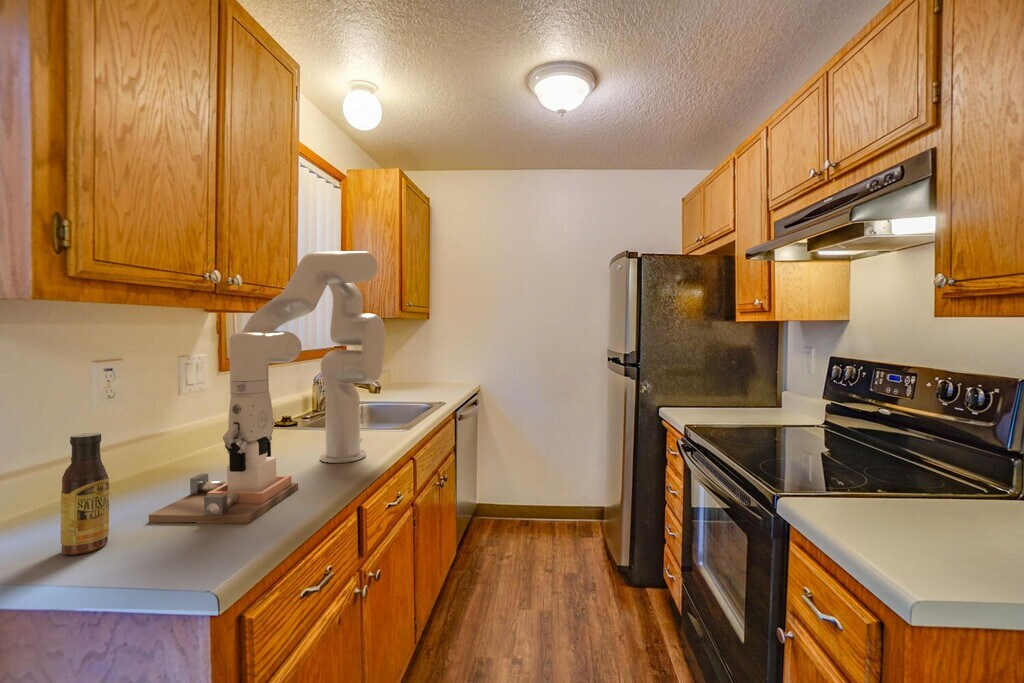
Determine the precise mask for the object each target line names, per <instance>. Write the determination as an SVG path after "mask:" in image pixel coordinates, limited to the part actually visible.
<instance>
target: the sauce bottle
mask: <svg viewBox="0 0 1024 683" xmlns="http://www.w3.org/2000/svg"><path fill="white" fill-rule="evenodd" d="M69 439H70V440H69V444H70V445H71V457H70V460H71V463H70V464H69V465H68V467H67V468H66V470H65V471H64V473H63V475H62V479H61V492H60V496H61V497H60V545H61V553H62V554H63V555H66V556H77V555H82V554H87V553H91V552H94V551H96V550H100V549H101V548H102V547H104V546H105V545H107V544H108V541H109V537H108V536H109V534H110V478H109V476H108V473H107V471H106V467H105V465H104V464H103V462H102V458H101V457H102V456H101V442H102V433H101V432H85V433H76V434H72V435H70V438H69Z"/></svg>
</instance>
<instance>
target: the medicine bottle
mask: <svg viewBox="0 0 1024 683" xmlns="http://www.w3.org/2000/svg"><path fill="white" fill-rule="evenodd" d="M236 444H237V445H238V446H240V443H236ZM243 452H245V456H246V470H245V471H244V472H231V471H230V464H227V466H226V468H227V469H226V473H227V474H226V476H227V478H226V480H227V481H226V482H227V484H228V491H236V492H261V491H263V490H265V489H266V488H268V487H270V486H271V485H273V484H274V483H276V475H277V457H275V456H271V457H266V456H267V440H266V439H264V438H261V439H259V440H256V441H254V442H248V441H247V443H246V446H245V448H244V451H243Z"/></svg>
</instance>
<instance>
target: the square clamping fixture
mask: <svg viewBox="0 0 1024 683" xmlns="http://www.w3.org/2000/svg"><path fill="white" fill-rule="evenodd" d="M292 480H293V479H292V475H277V474H276V483H274V484H273V485H271V486H270V487H268V488H266V489H265V490H263V491H261V492H236V491H228V484H227V481H225V480H223V481H221V480H218V481H215V480H214V481H213V480H209V473H199V474H197V475H195V476H192V477H191V478H189V488H190V490H189V491H190V492H189V493H190V494H188V495H186V496H184V497H182V498H180V499H179V500H176V501H173V502H172V503H169V504H168V505H166V506H164V507H162V508H160V509H157V510H155V511H154V512H152V513H149V514H148V523H156V522H201V523H200V524H224V523H230V524H234V523H236V525H237V524H239V525H240V524H241V525H248V524H250V523H251V522H253V521H254V520H255V518H256V519H257V518H258V517H260V516H262V515H263V514H265V513H266V512H267V511H269V510H270V509H272V508H273V507H274V506H276V505H278V504H279V503H280V502H281V500H282V501H283V500H285V499H286V498H287V497H289V496H290V495H292V494H293V493H294V491H295V490H296V491H297V490H298V489H299V483H298V482H292ZM296 491H295V492H296ZM291 493H292V494H291ZM288 495H289V496H288ZM285 497H286V498H285ZM279 501H280V502H279ZM278 502H279V503H278ZM275 504H276V505H275ZM272 506H273V507H272ZM269 508H270V509H269ZM268 509H269V510H268ZM266 510H267V511H266ZM265 511H266V512H265ZM262 513H263V514H262ZM259 515H260V516H259ZM252 520H253V521H252ZM234 525H235V524H234Z"/></svg>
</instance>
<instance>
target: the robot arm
mask: <svg viewBox="0 0 1024 683" xmlns="http://www.w3.org/2000/svg"><path fill="white" fill-rule="evenodd" d="M377 261H378V260H377V259H376V257H375V256H374V254H373V253H371V252H369V251H367V250H366V251H363V250H361V251H343V250H342V251H341V250H340V251H338V250H336V251H335V250H334V251H319V252H318V251H317V252H315V251H314V252H310V253H307V254H305V255H304V256H303V257H302V258H301V260H300V262H299V263H298V265H297V266H296V268H295V270H294V272H293V273H292V275H291V277H290V279H289V281H288V282H287V284H286V285H285V287H284V289H283V291H282V292H281V293H280V294H278V295H277V296H275V297H274V298H272V299H271V300H269V301H268V302H267V303H265V304H264V305H263V306H261V307H260V308H259V309H257V311H255V312H254V313H253V314H252V316H250V318H249V319H248V320H247V322H246V324H245V325H244V327H243V329H242V331H241V332H234V333H232V334H230V336H229V343H228V344H229V346H228V347H229V348H228V350H229V353H228V354H229V394H230V395H229V396H230V400H229V407H228V409H229V410H228V423H227V424H228V425H227V426H228V427H227V429H228V430H227V431H225V432H224V433H225V434H223V435H222V440H223V443H224V447H225V449H226V451H227V454H228V455H229V456H228V457H229V458H228V459H229V460H228V461H229V464H230V471H231V472H244V471H245V470H246V456H245V452H243V451H244V448H245V446H246V443H247V441H248V442H254V441H256V440H259V439H261V438H264V439H266V440H267V456H266V457H272V446H271V445H272V439H273V437H272V434H273V432H274V424H275V419H274V414H273V403H272V398H271V393H270V384H269V382H270V380H269V379H270V378H269V375H270V374H269V373H270V372H269V369H270V368H269V363H270V364H286V363H290V362H293V361H295V360H296V359H297V358H298V357H299V356H300V355H301V352H302V349H303V348H302V347H303V346H302V341H301V339H300V338H299V337H298V336H297V335H296V334H295V333H293V332H290V331H283V330H281V331H279V330H278V331H277V329H279V327H282V326H283V325H285V324H287V323H289V322H291V321H294V320H297V319H299V318H302V317H304V316H306V315H308V314H310V313H312V312H313V311H315V309H316V308H317V305H318V304H319V301H320V300H321V298H322V296H323V294H324V292H325V289H326V288H327V287H329V289H330V291H331V293H332V311H331V318H330V320H331V321H330V329H329V330H330V332H329V333H330V340H331V341H332V343H334V344H335V345H338V346H346V347H361V349H360V350H358V349H357V350H354V349H338V350H331V351H328V352H327V353H326V354H325V355H324V356H323V357H322V359H321V361H320V371H321V376H322V377H321V378H322V380H323V386H324V411H325V412H324V414H325V416H324V417H325V418H324V419H325V423H324V424H325V426H324V427H325V452H322V453H321V454H320V455H319V456H320V457H319V460H320V461H321V462H323V463H327V462H328V464H329V463H330V464H343V463H344V464H345V463H350V462H356V461H359V460H361V459H363V458H365V457H366V455H367V453H366V450H365V449H361V443H362V442H363V439H362V438H361V424H360V423H361V417H360V409H361V408H360V407H361V406H360V395H359V392H358V390H357V388H356V386H355V384H373V383H374V384H375V383H376V382H377V381H379V379H380V378H381V375H382V372H383V366H384V354H385V344H386V327H385V323H384V321H383V319H382V318H381V316H379V315H378V314H375V313H364V312H363V311H364V310H363V309H364V308H363V307H364V298H363V294H362V293H361V292H362V291H360V289H359V287H357V285H356V283H361V282H363V283H364V282H369V281H372V280H373V279H374V278H375V277H376V275H377V273H378V267H379V264H378V262H377ZM237 443H240V446H238V445H237ZM229 464H228V465H229Z"/></svg>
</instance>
